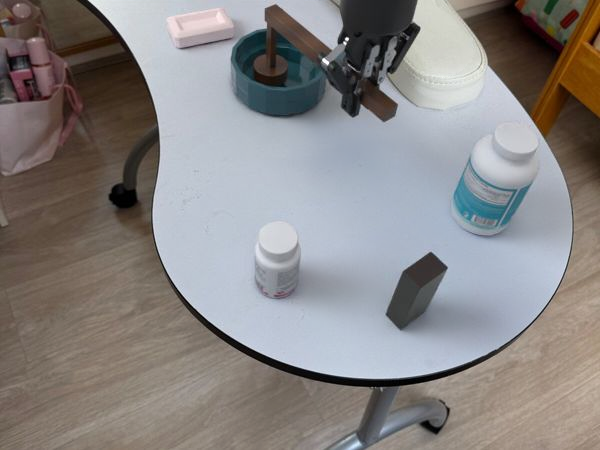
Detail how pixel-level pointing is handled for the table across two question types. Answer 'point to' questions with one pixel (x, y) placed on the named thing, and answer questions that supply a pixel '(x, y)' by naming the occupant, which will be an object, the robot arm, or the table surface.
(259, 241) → the pill bottle
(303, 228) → the table surface
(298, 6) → the table surface
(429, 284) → the dark grey rubber eraser
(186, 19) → the soap bar
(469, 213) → the pill bottle
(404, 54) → the robot arm
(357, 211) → the table surface
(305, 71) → the bowl
